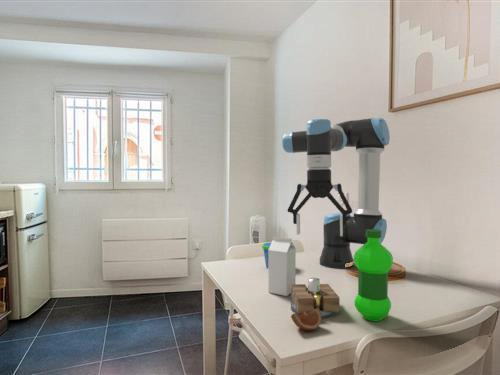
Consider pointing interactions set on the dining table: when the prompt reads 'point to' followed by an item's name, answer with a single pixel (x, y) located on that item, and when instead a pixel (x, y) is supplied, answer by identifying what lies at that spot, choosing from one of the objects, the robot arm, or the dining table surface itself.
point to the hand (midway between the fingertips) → (319, 234)
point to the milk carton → (281, 266)
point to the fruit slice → (307, 319)
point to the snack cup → (266, 252)
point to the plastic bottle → (373, 277)
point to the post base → (323, 314)
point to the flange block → (307, 301)
